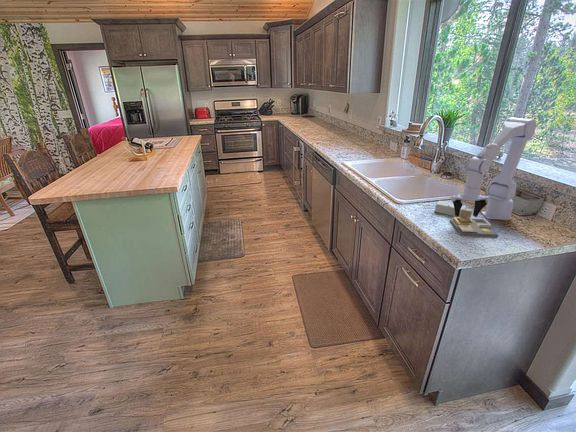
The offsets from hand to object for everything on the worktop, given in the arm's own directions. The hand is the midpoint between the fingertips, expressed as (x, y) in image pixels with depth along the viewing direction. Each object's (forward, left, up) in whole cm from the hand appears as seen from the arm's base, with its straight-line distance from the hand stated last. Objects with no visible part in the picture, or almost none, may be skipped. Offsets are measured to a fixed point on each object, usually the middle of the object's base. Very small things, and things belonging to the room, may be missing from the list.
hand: (465, 216), depth 132 cm
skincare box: (+7, -17, -3) cm, 18 cm away
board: (-2, +3, -5) cm, 6 cm away
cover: (+1, +7, -3) cm, 8 cm away
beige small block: (0, 0, -3) cm, 3 cm away
